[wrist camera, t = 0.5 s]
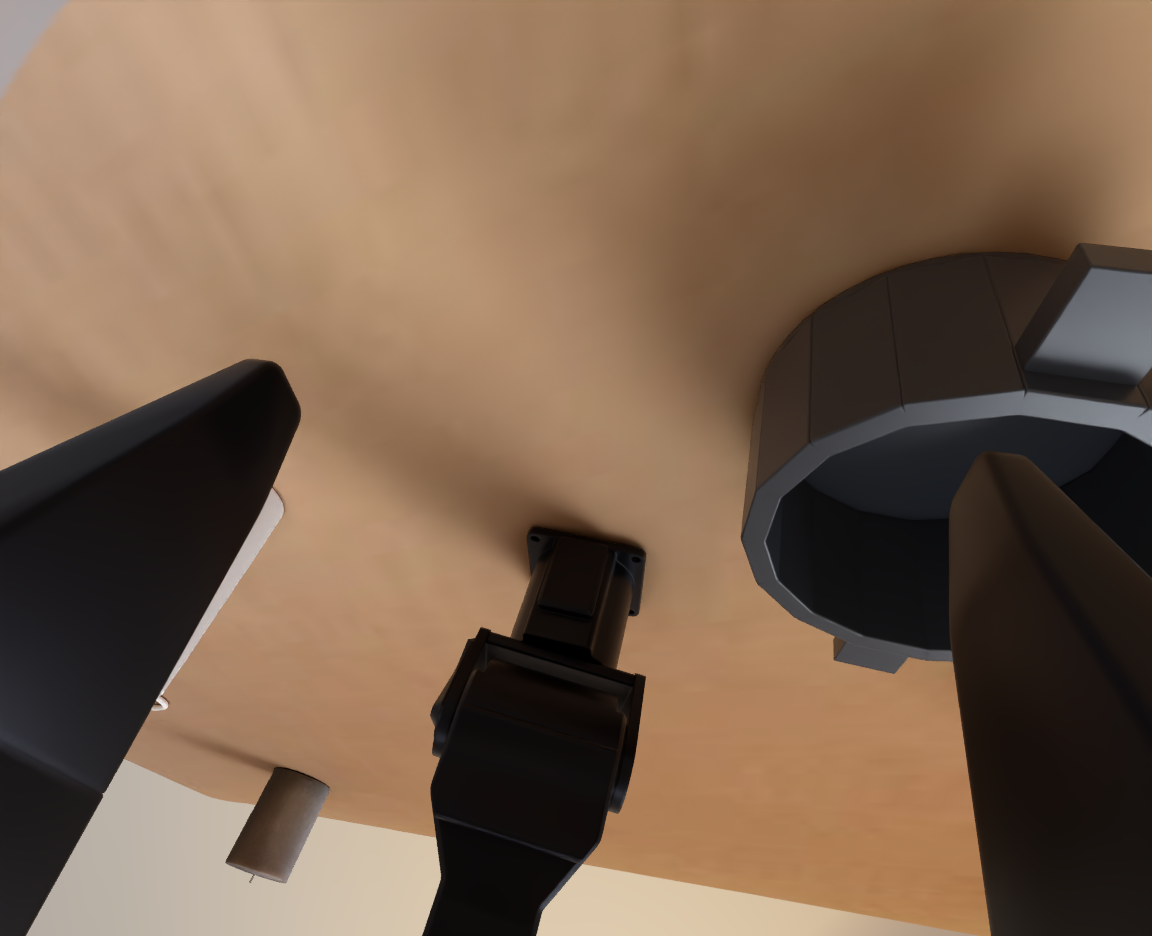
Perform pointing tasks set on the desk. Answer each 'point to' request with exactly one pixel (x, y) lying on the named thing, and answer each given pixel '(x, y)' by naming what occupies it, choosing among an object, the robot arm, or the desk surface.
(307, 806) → the pillar candle
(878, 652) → the pot
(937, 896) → the desk surface
